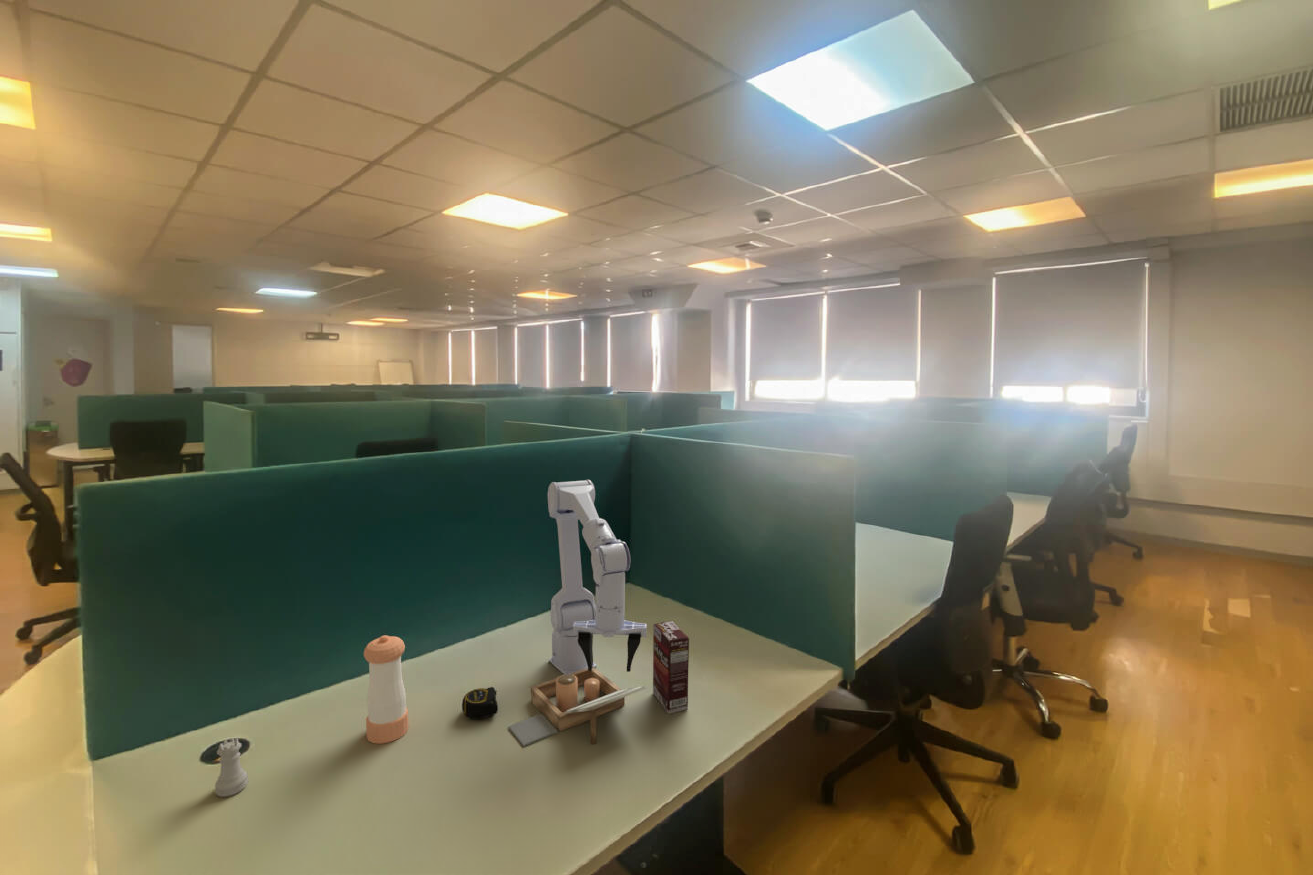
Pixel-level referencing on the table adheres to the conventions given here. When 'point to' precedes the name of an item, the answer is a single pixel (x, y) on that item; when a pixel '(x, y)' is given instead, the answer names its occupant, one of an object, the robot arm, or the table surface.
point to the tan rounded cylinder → (591, 689)
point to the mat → (532, 729)
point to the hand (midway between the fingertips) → (609, 668)
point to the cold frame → (584, 711)
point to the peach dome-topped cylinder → (566, 692)
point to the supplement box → (670, 666)
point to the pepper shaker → (386, 690)
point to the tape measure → (480, 703)
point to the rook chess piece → (230, 770)
